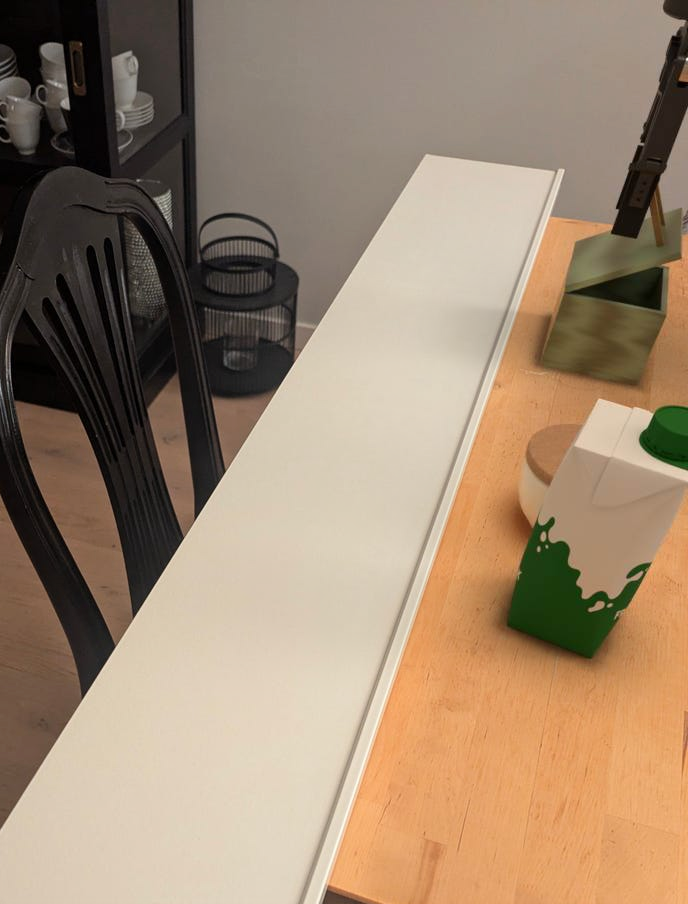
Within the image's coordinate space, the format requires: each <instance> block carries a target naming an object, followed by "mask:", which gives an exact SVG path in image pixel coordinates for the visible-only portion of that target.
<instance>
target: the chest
mask: <svg viewBox="0 0 688 904" xmlns="http://www.w3.org/2000/svg"><path fill="white" fill-rule="evenodd" d="M570 262H571V260H570V261H569V264H568V267H567V270H566V273H565V276H564V279H563V282H562V285H561V288H560V290H559V294H558V297H557V299H556V303H555V305H554V307H553V312H552V314H551V318H550V321H549V325H548V329H547V333H546V337H545V341H544V346H543V349H542V353H541V358H540V361H539V365H541V366H543V367H548V368H553V369H557V370H562V371H567V372H570V373H574V374H579V375H584V376H589V377H593V378H598V379H603V380H606V381H611V382H615V383H619V384H620V383H621V384H624V385H629V386H633V387H637V385H638V383H639V380H640V378H641V376H642V373H643V371H644V369H645V367H646V364H647V362H648V360H649V358H650V355H651V353H652V350H653V348H654V346H655V343H656V342H657V339H658V336H659V335H660V332H661V330H662V329H663V325H664V323H665V321H666V318H667V316H668V299H669V285H670V282H669V281H670V267H669V266H666V265H659V266H656V267H653V268H649V269H646V270H642V271H639V272H635V273H632V274H629V275H625V276H622V277H618V278H615V279H612V280H608V281H605V282H601V283H598V284H594V285H591V286H588V287H584V288H581V289H577V290H574V291H570V292H567V293H566V290H565V283H566V279H567V275H568V271H569V266H570Z"/></svg>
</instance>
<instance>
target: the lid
mask: <svg viewBox="0 0 688 904" xmlns="http://www.w3.org/2000/svg"><path fill="white" fill-rule="evenodd" d="M649 158H652V157H649ZM654 159H658V158H654ZM660 182H661V178H660V179H659V182H658V185H657V187H656V190H655V192H654V195H653V198H652V200H651V203H650V205H649V213H650V217H647V218H645V219H644V221H643V224H642V226H641V229H640V232H639V234H638V237H637V239H634V238H629V237H623V236H618V235H613V234H611V230H612V229H610V230H607V231H603V232H600V233H597V234H595V235H591V236H588V237H584V238H582V239H578V240H576V241H575V242H574V246H573V250H572V255H571V258H570V261H571V262H570V261H569V264H570V266H569V265H568V267H569V271H568V275H567V279H566V283H565V290H566V293H567V292H570V291H574V290H577V289H581V288H584V287H588V286H591V285H594V284H598V283H601V282H605V281H608V280H612V279H615V278H618V277H622V276H625V275H629V274H632V273H635V272H639V271H642V270H646V269H649V268H653V267H656V266H659V265H662V266H664V265H666V264H670V263H672V262H677V261H679V260H682V259H683V237H684V236H683V232H684V231H683V230H684V210H683V207H678V208H675V209H672V210H669V211H666V212H664V208H663V201H662V195H661V189H660Z"/></svg>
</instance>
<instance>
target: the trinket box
mask: <svg viewBox="0 0 688 904" xmlns="http://www.w3.org/2000/svg"><path fill="white" fill-rule="evenodd" d="M582 426H583V424H578V423H561V424H553V425H549V426H546V427H544V428H542V429H540V430H538V431H536V433H534V434H533V435H532V436H531V437H530V439H529V440H528V443H527V445H526V449H525V456H524V459H523V462H522V465H521V468H520V473H519V479H518V486H517V488H518V489H517V491H518V493H517V494H518V500H519V504H520V507H521V510H522V512H523V514H524V516H525V517H526V519H527V520H528V523H529V526H530V527H531V529H532V530H533V527H534V525H535V522H536V520H537V517H538V514H539V512H540V509H541V507H542V504H543V502H544V499H545V497H546V494H547V492H548V489H549V487H550V484H551V482H552V479H553V477H554V476H555V474H556V472H557V470H558V468H559V466H560V464H561V462H562V460H563V458H564V456H565V455H566V453H567V451H568V449H569V448H570V446H571V444H572V443H573V441H574V439H575V438H576V436H577V434H578V432H579V431H580V429H581V427H582Z"/></svg>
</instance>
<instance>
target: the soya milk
mask: <svg viewBox="0 0 688 904" xmlns="http://www.w3.org/2000/svg"><path fill="white" fill-rule="evenodd" d="M592 407H593V408H592V409H591V411H590V412H589V414H588V416H587V417H586V418H585V421H584V422H583V424H582V425H583V426H582V427H581V429H580V431H579V432H578V434H577V436H576V438H575V439H574V441H573V443H572V444H571V446H570V448H569V449H568V451H567V453H566V455H565V456H564V458H563V460H562V462H561V464H560V466H559V468H558V470H557V472H556V474H555V476H554V477H553V479H552V482H551V484H550V487H549V489H548V492H547V494H546V497H545V499H544V502H543V504H542V507H541V509H540V512H539V514H538V517H537V520H536V522H535V525H534V527H533V529H532V530H531V533H530V535H529V538H528V540H527V542H526V546H525V548H524V551H523V553H522V557H521V559H520V562H519V565H518V569H517V574H516V579H515V582H514V583H515V584H514V589H513V593H512V598H511V601H510V602H511V604H510V607H509V612H508V617H507V622H506V626H507V627H510V628H512V629H515V630H516V631H517V630H518V631H520V632H523V633H525V634H528V635H530V636H532V637H535V638H537V639H540V640H542V641H545V642H548V643H550V644H553V645H555V646H557V647H561V648H563V649H566V650H568V651H570V652H573V653H576V654H578V655H580V656H583V657H586V658H588V659H592V658H593V656H594V655H595V654H596V652H597V651H598V649H599V648H600V647H601V645H602V644H603V642H604V641H605V640H606V638H607V637H608V636H609V634H610V633H611V632H612V630H613V629H614V627H615V626H616V624H617V623H618V622H619V620H620V619H621V617H622V616H623V614H624V613H625V612H626V610H627V609H628V607H629V605H630V604H631V602H632V600H633V599H634V597H635V595H636V593H637V592H638V590H639V588H640V586H641V585H642V582H643V581H644V579H645V578H646V577H645V576H646V575H647V573H648V571H649V569H650V567H651V565H652V564H653V562H654V560H655V558H656V556H657V555H658V552H659V551H660V549H661V547H662V545H663V543H664V541H665V540H666V537H667V536H668V534H669V532H670V530H671V528H672V526H673V524H674V522H675V519H676V518H677V516H678V513H679V511H680V510H681V509H680V508H681V506H682V503H683V501H684V498H685V495H686V494H687V491H688V407H687V406H684V405H676V404H674V405H673V404H669V405H664V406H660V407H658V408H657V409H656V410H655V411H654V412H651V411H650V410H648V409H644V408H641V407H637V406H633V407H629V406H626V405H624V404H623V405H622V404H619V403H616V402H614V401H613V402H612V401H610V400H606V399H603V398H598V399H597V400H596V403H595V404H594V405H593V406H592Z"/></svg>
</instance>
